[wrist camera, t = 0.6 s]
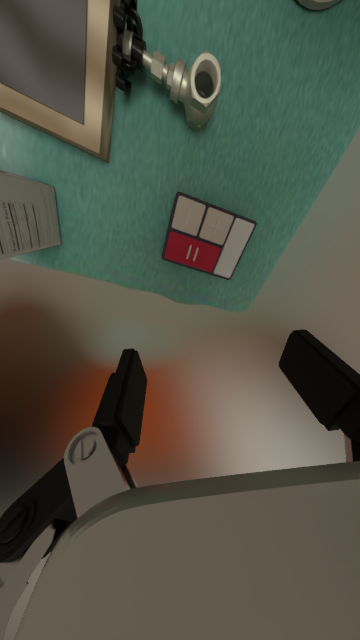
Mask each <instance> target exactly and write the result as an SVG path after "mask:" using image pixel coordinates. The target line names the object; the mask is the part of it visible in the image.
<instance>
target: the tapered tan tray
mask: <svg viewBox="0 0 360 640" xmlns="http://www.w3.org/2000/svg"><path fill="white" fill-rule="evenodd" d="M114 4H116V5H118V6H119V7H120V0H0V112H2V113H4V114H6V115H9V116H11V117H13V118H15V119H17V120H19V121H21V122H23V123H26V124H28V125H30V126H32V127H34V128H36V129H38V130H40V131H43V132H45V133H47V134H49V135H51V136H53V137H55V138H57V139H60V140H62V141H64V142H66V143H68V144H70V145H72V146H74V147H77V148H79V149H81V150H83V151H85V152H87V153H89V154H91V155H94V156H96V157H98V158H100V159H102V160H104V161H106V162H109V151H110V141H111V130H112V119H113V108H114V97H115V86H116V82H115V78H116V72H117V66H116V65H114V64H113V62H112V47H113V45H116V27H115V26H114V24H113V6H114Z"/></svg>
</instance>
